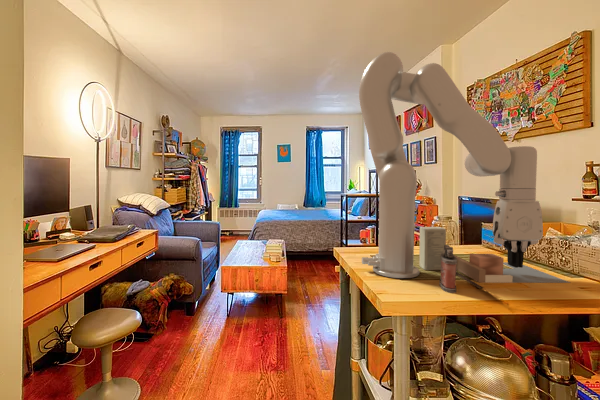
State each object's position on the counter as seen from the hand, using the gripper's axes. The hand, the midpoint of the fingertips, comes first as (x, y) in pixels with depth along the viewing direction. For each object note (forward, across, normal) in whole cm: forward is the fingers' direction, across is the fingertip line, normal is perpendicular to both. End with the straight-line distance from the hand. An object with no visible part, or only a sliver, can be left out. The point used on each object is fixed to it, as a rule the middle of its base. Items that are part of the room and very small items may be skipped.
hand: (515, 265), depth 77 cm
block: (+2, -8, 0) cm, 8 cm away
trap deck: (+4, -2, +3) cm, 5 cm away
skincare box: (+4, -17, +11) cm, 20 cm away
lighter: (+4, -20, -5) cm, 21 cm away
